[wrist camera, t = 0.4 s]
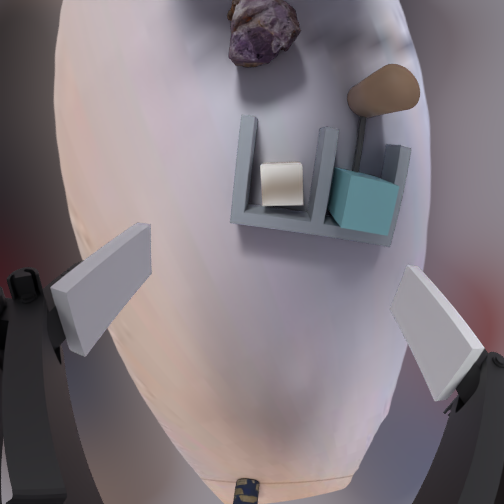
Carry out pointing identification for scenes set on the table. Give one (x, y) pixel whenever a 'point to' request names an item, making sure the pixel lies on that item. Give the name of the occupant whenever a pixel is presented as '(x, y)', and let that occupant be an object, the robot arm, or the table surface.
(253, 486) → the canister
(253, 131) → the lane rack
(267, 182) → the cream cube
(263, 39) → the rock
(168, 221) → the table surface
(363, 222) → the block
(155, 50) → the table surface
